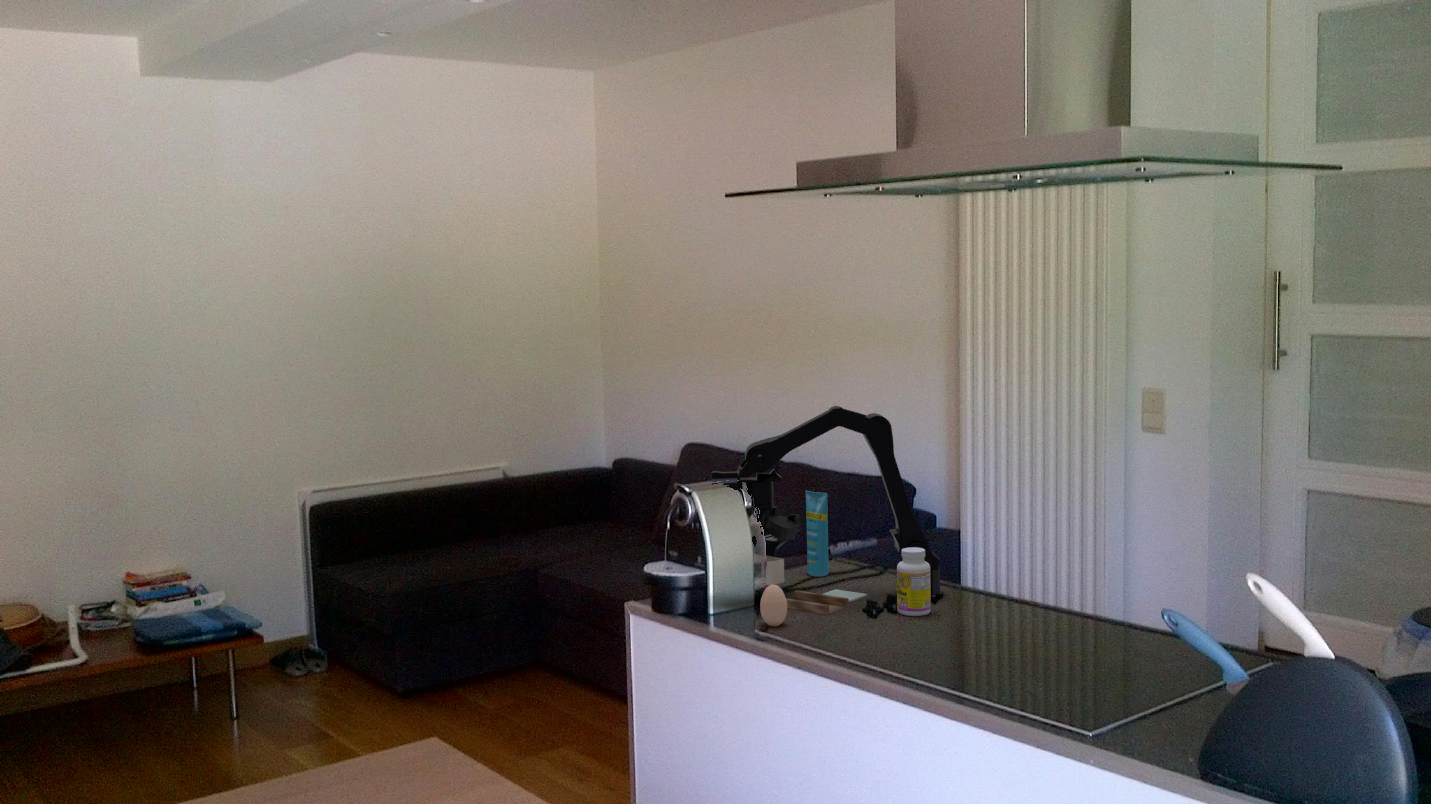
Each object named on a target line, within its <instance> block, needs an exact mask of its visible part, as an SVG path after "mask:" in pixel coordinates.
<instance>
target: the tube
mask: <svg viewBox="0 0 1431 804" xmlns="http://www.w3.org/2000/svg"><path fill="white" fill-rule="evenodd" d="M828 497H829V496H828V493H827V492H815V491H811V490H805V506H806V507H805V510H806V511H805V512H806V514H805V515H806V548H807V549H806V550H807V551H806V552H807V553H806V554H807V556H806V558H807V559H806V560H807V561H806V562H807V563H806V564H807V566H806V567H807V568H806V569H807V573H808V574H810V575H811V576H810V575H809V576H810V577H826V576H829V573H830V571H829V568H830V567H829V565H830V564H829V526H828V525H829V521H828V520H829V518H828V516H829V515H828V514H829V513H828V512H829V510H828V508H829V506H828V504H829V503H828V500H829V498H828ZM808 574H807V575H808Z"/></svg>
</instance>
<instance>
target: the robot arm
mask: <svg viewBox="0 0 1431 804" xmlns="http://www.w3.org/2000/svg"><path fill="white" fill-rule="evenodd" d="M837 427H840V428H844V429H847V430H850V431H852V432H856V433H859V434H862V436H863V437H864V440H865V441H866V444H867V446H868V447H869V449H870V450H871V452H872V454H873V455H874V457H875V460H876V462H877V466H878V469H879V472H880V476H881V479H882V482H883V485H884V488H885V491H886V494H887V498H888V500H889V503H890V506H891V510H892V513H893V516H894V519H895V528H890V529H889V532H890V534H891V536H892V537H893V540H894V548H895V549H896V550H897V552H899V554H902V549H904V548H911V547H916V548H923V549H925V557H924V561H926V562H928V563H929V565H930V585H931V595H932V594H936V593H942V594H941V595H943V594H945V591H944V590H941V572H940V571H941V566H940V564H941V559H940V558H939V557H938V556H937V555H936V553H934V551H932V550H931V549H930V543H929V541H928V540H927V538H926V536H925V534H924V532H923V530H922V529H921V527H920V525H919V524H918V522H917V520H916V518H915V516H914V514H913V509H912V507H911V504H910V501H909V498H908V495H907V491H906V488H905V485H904V481H903V479H902V476H901V472H900V470H899V466H898V463H897V460H896V457H895V450H894V449H895V447H894V445H895V444H894V436H893V428H892V424H891V422H890V420H888V418H887V417H885V416H883V415H882V414H879V413H877V412H876V413H875V412H873V413H868V414H863V413H860V412H857V411H853V410H849V409H846V408H843V407H842V406H840V405H833V406H831V407H830V408H829V409H828V410H826V411H824V412H822V413H820V414H818V415H816V416H814V417H812V418H810V419H809V420H807V421H804V422H803V423H801V424H799V425H797V426H794V427H793V428H791V429H790V430H787V431H786V432H783V433H781V434H779V435H776V436H771V437H767V438H764V439H760V440H758V441H755V442H752V443H750V444H749V445H748V446H747V447H746V450H745V452H744V459H743V461H742V462H741V464H739V466H738V468H737V470H736V471H719V470H714V471H711V485H713V484H718V483H712V482H717V481H722V482H719V483H724V484H723V485H729V486H727V487H730V488H733V489H734V490H738V491H739V492H740V488H741V489H743V490H744V485H743V484H744V483H745V491H746V490H747V488H748V490H747V492H748V494H749V495H750V496H751V494H752V497H751V499H752V498H754V504H755V506H754V507H755V508H756V507H757V508H756V509H757V511H758V514H757V522H759V521H760V522H761V525H762V526H760V528H761V527H763V529H764V536H765V541H766V555H767V556H772V557H777V554H778V552H779V549H780V548H781V547H782V546H783V545H784V544H786V543H787V542H788V541H790V540H794V539H796V537H798V532H800V531H802V528H801V525H802V523H801V516H800V515H798V514H796V513H792V514H790V515H788V516H787V515H784V516H782V515H780V509H779V507H778V506H775V505H774V501H775V500H774V482H782V481H783V478H782V476H781V475H780V474H778V473H777V471H776V469H775V468H772V467H773V466H775V465H776V464H777V463H778V462H779V461H780V460H782V459H783V458H784V457H785V456H786V455H788V454H789V453H790V452H791V451H794V450H795V449H797V448H799V447H801V446H803V445H806V444H807V443H809V442H811V441H812V440H815V439H817V438H818V437H820V436H822V435H824V434H826V433H828V432H830V431H832V430H833V429H836V428H837ZM771 468H772V470H770V472H766V471H768V470H769V469H771ZM755 473H756V474H755ZM754 474H755V475H756V476H754V477H752V475H754ZM726 480H729V481H726ZM737 480H739V481H737ZM742 482H743V483H742ZM742 485H743V486H742ZM746 486H747V488H746ZM752 502H753V501H752ZM758 508H759V510H760V514H759V510H758ZM755 513H756V511H755ZM758 515H759V518H758ZM761 534H762V535H763V532H761ZM752 542H753V544H754V547H755V546H756V544H757V540H756V537H755V536H753V537H752Z"/></svg>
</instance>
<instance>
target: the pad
mask: <svg viewBox="0 0 1431 804" xmlns="http://www.w3.org/2000/svg"><path fill="white" fill-rule="evenodd" d="M822 594H824V595H831V596H837V597H843V598H848V599H849V603H851V602H853V601H857V600H859V599H862V598H865V597H867V596H868V594H867V593H862V592H854V591H850V590H849V591H848V590H844V589H836V588H835V589H832V590H830V591H826V592H824V593H822Z"/></svg>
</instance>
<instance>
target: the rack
mask: <svg viewBox="0 0 1431 804" xmlns="http://www.w3.org/2000/svg"><path fill="white" fill-rule="evenodd" d="M786 600H787V610H788V609H790V610H795V611H801V612H807V613H812V614H819V615H825V616H827V615H829V614H832V613H836V612H838V611H841V610H844V609H846V608H848V607H849V605H850V604H849V603H850V602H849V599H848V598H843V597H837V596H831V595H824V594H823V593H818V592H817V593H816V592H813V591H812V592H811V591H804V590H799V589H796V590H794V591H793V599H792V598H786Z"/></svg>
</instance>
